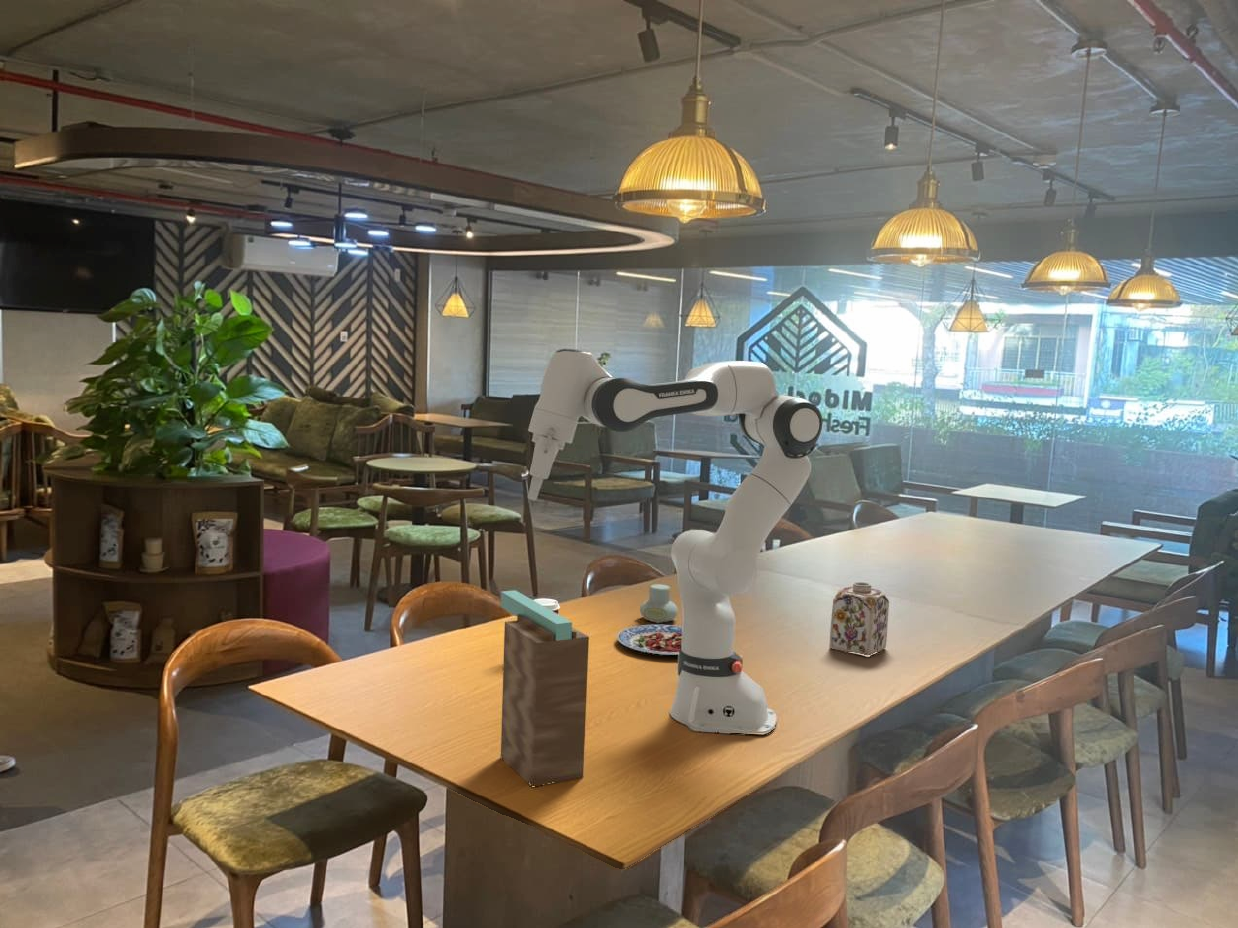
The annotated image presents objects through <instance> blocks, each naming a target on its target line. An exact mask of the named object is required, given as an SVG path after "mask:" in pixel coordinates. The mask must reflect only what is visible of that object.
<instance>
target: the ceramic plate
mask: <svg viewBox="0 0 1238 928" xmlns="http://www.w3.org/2000/svg"><path fill="white" fill-rule="evenodd" d="M616 637H617V640H618V642H619V643H620V644H622V645H623V646H624V647H626V648H629V649H631V650H635V651H639V652H641V653H646V652H647V653H646V654H650V653H652V654H651V655H655V654H659V655H658V656H663V655H678V654H679V650H680V649H681V643H682V626H680V625H670V624H645V625H644V624H643V625H636V626H632V627H628V628H625V629H623V630H621V631H620V632H618V634H617V635H616Z"/></svg>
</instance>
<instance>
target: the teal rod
mask: <svg viewBox="0 0 1238 928" xmlns="http://www.w3.org/2000/svg"><path fill="white" fill-rule="evenodd" d="M533 600H534V599H532V598H530V597H528V596H526V595H525V594H523V593H521V592H519V591H518V590H506V591H501V593H500V607H501V608H502V609H503V610H505V611H507V612H508V613H510V614H512V615H514V616H515V617H517V614H521V615H523V616H525V617H526V618H528V619H530V620H531V621H533V622H535V623H536V624H538V625H540V626H541V627H543V628H545V629H546V630H548V631H549V632H551V633H553V634H554V640H555V641H559V640H567V639H571V637H572V627H573V621H570V620H569V619H567V618H566V617H563V616H562V615H561V614H559V613H558V614H557V613H555V612H553V611H551V610H549V609H548V608H546V607H544V606H542V605H541V604H539V603H537V602H535V601H533Z"/></svg>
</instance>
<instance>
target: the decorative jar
mask: <svg viewBox="0 0 1238 928" xmlns="http://www.w3.org/2000/svg"><path fill="white" fill-rule="evenodd" d="M889 608H890V601H889V598H887V596H886V595H885V594H884V593H883V592H882V591H880V590H879V589H875V588H872V584H871V583H869V582H862V581H859V582H853V583H852V586H845V587H842V588H840V589H839V590H838V592H837V594H835V596H834V598H833V600H832V608H831V619H830V628H829V629H830V630H829V645H828V646H829V647H828V648H829V649H830V648H832V649H831V650H833V649H836V650H835V651H837V650H841V651H846V652H855V653H860V654H864V655H871V654H873V653H875V652H879V651H880V652H882V651H884V650H885V649H886V648H887V647H886V646H887V641H888V640H887V639H888V627H889V626H888V624H889V610H890V609H889ZM884 648H885V649H884ZM883 649H884V650H883ZM881 650H882V651H881ZM841 651H840V652H841ZM846 652H845V653H846ZM880 652H879V653H880Z"/></svg>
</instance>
